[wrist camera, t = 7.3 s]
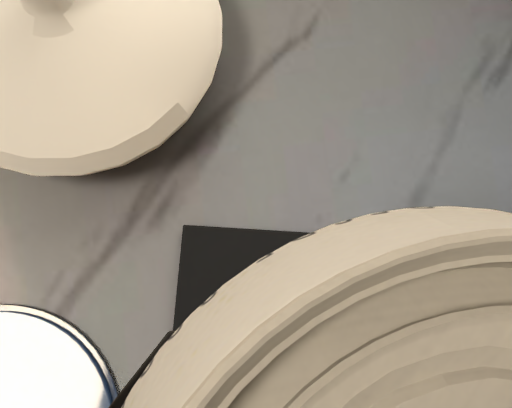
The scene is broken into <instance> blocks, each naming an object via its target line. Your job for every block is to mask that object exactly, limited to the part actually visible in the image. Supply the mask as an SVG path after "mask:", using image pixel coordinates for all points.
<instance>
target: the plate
mask: <svg viewBox="0 0 512 408" xmlns="http://www.w3.org/2000/svg"><path fill="white" fill-rule="evenodd" d="M117 396H118V392H117V389H116V386H115V383H114V380H113V377H112V375H111V373H110V371H109V369H108V367H107V365H106V363H105V361H104V359H103V358H102V356H101V355H100V353H99V352H98V351H97V349H96V348H95V347H94V345H93V344H92V343H91V342H90V341H89V340H88V339H87V338H86V337H85V336H84V335H83V334H82V333H81V332H80V331H78V330H77V329H76V328H75V327H74V326H72V325H71V324H69V323H67V322H66V321H64V320H63V319H61V318H59V317H57V316H55V315H53V314H50V313H48V312H46V311H43V310H39V309H35V308H32V307H27V306H19V305H0V408H108V407H109V406H110V405H111V404H112V402H113V401H114V400H115V398H116V397H117Z"/></svg>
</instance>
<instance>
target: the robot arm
mask: <svg viewBox="0 0 512 408" xmlns="http://www.w3.org/2000/svg"><path fill="white" fill-rule="evenodd" d="M174 332H175V331H170V332H168V333H167V334H166V335H165V337H164V338H163V339H162V340H161V342H160V343H159V344H158V346H157V347H156V348H155V349H154V351H153V352H152V353H151V354H150V356H149V357H148V358H147V359H146V361H145V362H144V363H143V364H142V366H141V367H140V368H139V369H138V371H137V372H136V373H135V375H134V376H133V377H132V378H131V380H130V381H129V382H128V383H127V385H126V386H125V387H124V388H123V390H122V391H121V392H120V393H119V395H118V396H117V397H116V398H115V400H114V401H113V402H112V404H111V405H110V406H109V407H108V408H121V407H122V405H123V404H124V402H125V400H126V398H127V396H128V395H129V393H130V391H131V389H132V388H133V386H134V385H135V383H136V382H137V381H138V379H139V378H140V376H141V375H142V374H143V372H144V371H145V369H146V368H147V366H148V365H149V364H150V362H151V361H152V359H153V358H154V357H155V355H156V354H157V352H158V351H159V349H160V348H161V347H162V346H163V345H164V344H165V343H166V341H167V340H168V339H169V338H170V337H171V336H172V335H173V334H174Z"/></svg>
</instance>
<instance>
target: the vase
mask: <svg viewBox="0 0 512 408" xmlns="http://www.w3.org/2000/svg"><path fill="white" fill-rule="evenodd" d="M221 50H222V11H221V7H220V4H219V1H218V0H0V167H1V168H5V169H8V170H12V171H16V172H20V173H24V174H28V175H32V176H81V175H89V174H93V173H97V172H101V171H104V170H108V169H112V168H116V167H120V166H124V165H126V164H128V163H130V162H132V161H134V160H136V159H137V158H139V157H141V156H143V155H145V154H147V153H149V152H150V151H152V150H154V149H156V148H158V147H160V146H161V145H162V144H163V143H164V142H165V141H166V140H167V139H168V138H169V137H171V136H172V135H173V134H174V133H175V132H176V131H177V130H178V129H179V128H180V127H182V126H183V125H184V124H185V123H186V122H187V121H188V119H189V118H190V116H191V115H192V113H193V112H194V110H195V108H196V107H197V105H198V104H199V102H200V101H201V99H202V98H203V96H204V94H205V93H206V91H207V90H208V88H209V86H210V85H211V83H212V79H213V76H214V73H215V69H216V66H217V63H218V60H219V56H220V53H221Z"/></svg>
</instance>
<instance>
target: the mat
mask: <svg viewBox="0 0 512 408" xmlns="http://www.w3.org/2000/svg"><path fill="white" fill-rule="evenodd" d="M307 234H310V233H302V232H286V231H270V230H254V229H237V228H221V227H205V226H189V225H184V226H183V234H182V244H181V254H180V264H179V275H178V285H177V295H176V305H175V316H174V326H173V331H176V330H177V329H178V328H179V327H180V326H181V324H182V323H183V322H184V321H185V320H186V319H187V318H188V317H189V315H190V314H191V313H193V312H194V311H195V310H196V309H197V308H198V307H199V306H200V305H201V304H202V303H204V302H205V301H206V300H207V299H208V298H209V297H210V296H211V295H212V294H214V293H215V292H216V291H217V290H218V289H219V288H220V287H221V286H222V285H224V284H225V283H226V282H228V281H229V280H231V279H232V278H233V277H235V276H236V275H238V274H239V273H240V272H242V271H243V270H245V269H246V268H247V267H249V266H250V265H252V264H253V263H254V262H256V261H257V260H259V259H260V258H262V257H264V256H266V255H268V254H269V253H271V252H273V251H275V250H277V249H279V248H280V247H282V246H284V245H286V244H288V243H289V242H291V241H293V240H295V239H297V238H300V237H302V236H305V235H307Z"/></svg>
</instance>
